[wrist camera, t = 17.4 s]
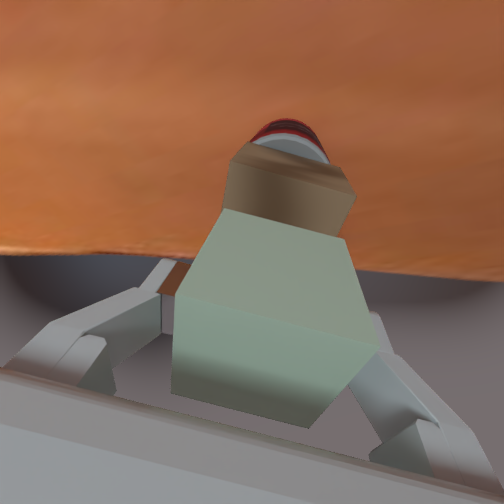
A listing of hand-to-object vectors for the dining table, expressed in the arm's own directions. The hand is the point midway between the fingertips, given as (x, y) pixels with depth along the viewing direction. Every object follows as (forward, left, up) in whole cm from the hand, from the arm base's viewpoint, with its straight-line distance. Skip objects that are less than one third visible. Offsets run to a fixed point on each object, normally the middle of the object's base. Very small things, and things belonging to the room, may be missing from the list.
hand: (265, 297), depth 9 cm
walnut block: (0, 0, -10) cm, 10 cm away
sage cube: (0, 0, -2) cm, 2 cm away
